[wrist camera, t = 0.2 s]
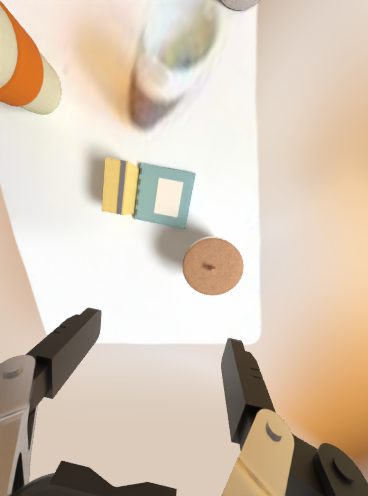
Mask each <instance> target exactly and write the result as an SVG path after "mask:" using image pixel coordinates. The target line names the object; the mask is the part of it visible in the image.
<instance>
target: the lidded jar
mask: <svg viewBox="0 0 368 496" xmlns="http://www.w3.org/2000/svg"><path fill="white" fill-rule="evenodd" d="M183 273H184V276H185V279H186V281H187V282H188V284H189V285H190V286H191V287H192V288H193V289H195V290H196V291H198V292H200V293H202V294H206V295H219V294H223V293H226V292H228V291H229V290H231V289H232V288H233V287H235V286H236V284H237V283H238V282H239V280H240V279H241V276H242V273H243V260H242V257H241V255H240V253H239V251H238V250H237V249H236V248H235V247H234V246H233V245H232V244H231V243H229V242H228V241H226V240H224V239H222V238H219V237H213V236H211V237H204V238H201V239H199V240H197V241H196V242H195V243H193V245H192V246H191V247H190V248H189V249H188V251H187V253H186V255H185V257H184V261H183Z"/></svg>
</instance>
